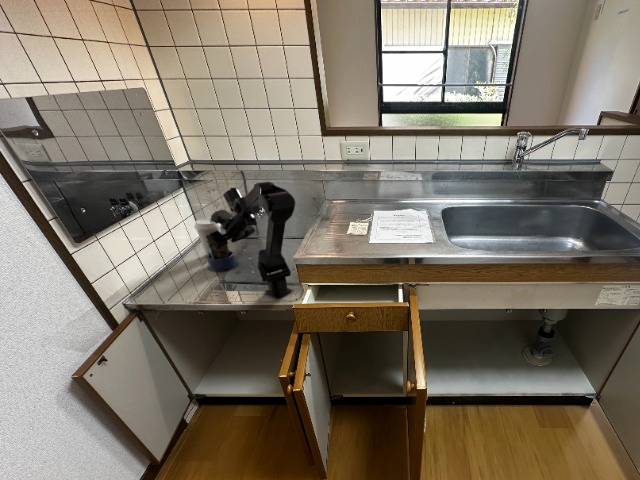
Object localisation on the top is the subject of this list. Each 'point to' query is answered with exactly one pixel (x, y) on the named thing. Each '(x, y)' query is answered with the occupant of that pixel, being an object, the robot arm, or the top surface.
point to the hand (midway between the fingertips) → (223, 245)
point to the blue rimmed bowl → (221, 262)
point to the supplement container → (218, 252)
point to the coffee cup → (206, 230)
